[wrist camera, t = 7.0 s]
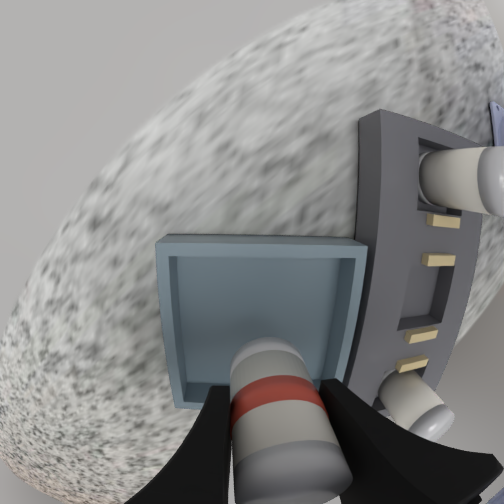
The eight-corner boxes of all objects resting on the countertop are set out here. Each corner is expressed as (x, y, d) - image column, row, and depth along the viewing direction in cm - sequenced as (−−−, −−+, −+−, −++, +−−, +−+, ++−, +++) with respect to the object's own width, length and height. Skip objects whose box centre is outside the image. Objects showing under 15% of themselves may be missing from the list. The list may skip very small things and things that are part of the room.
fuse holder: (459, 148, 14) (489, 146, 11) (415, 386, 18) (432, 406, 15) (358, 119, 13) (385, 106, 10) (324, 406, 18) (336, 434, 15)
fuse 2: (444, 158, 13) (521, 155, 7) (442, 206, 14) (520, 221, 8) (408, 148, 13) (491, 137, 7) (407, 201, 14) (492, 214, 7)
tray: (347, 237, 15) (367, 246, 12) (325, 379, 17) (336, 401, 15) (167, 234, 14) (155, 243, 12) (180, 383, 16) (175, 407, 14)
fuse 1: (412, 355, 16) (462, 406, 10) (400, 388, 17) (441, 440, 11) (378, 362, 16) (425, 423, 10) (367, 396, 17) (404, 456, 10)
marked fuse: (312, 340, 11) (375, 459, 5) (291, 395, 12) (326, 509, 5) (236, 330, 11) (246, 470, 4) (223, 389, 11) (224, 514, 5)
